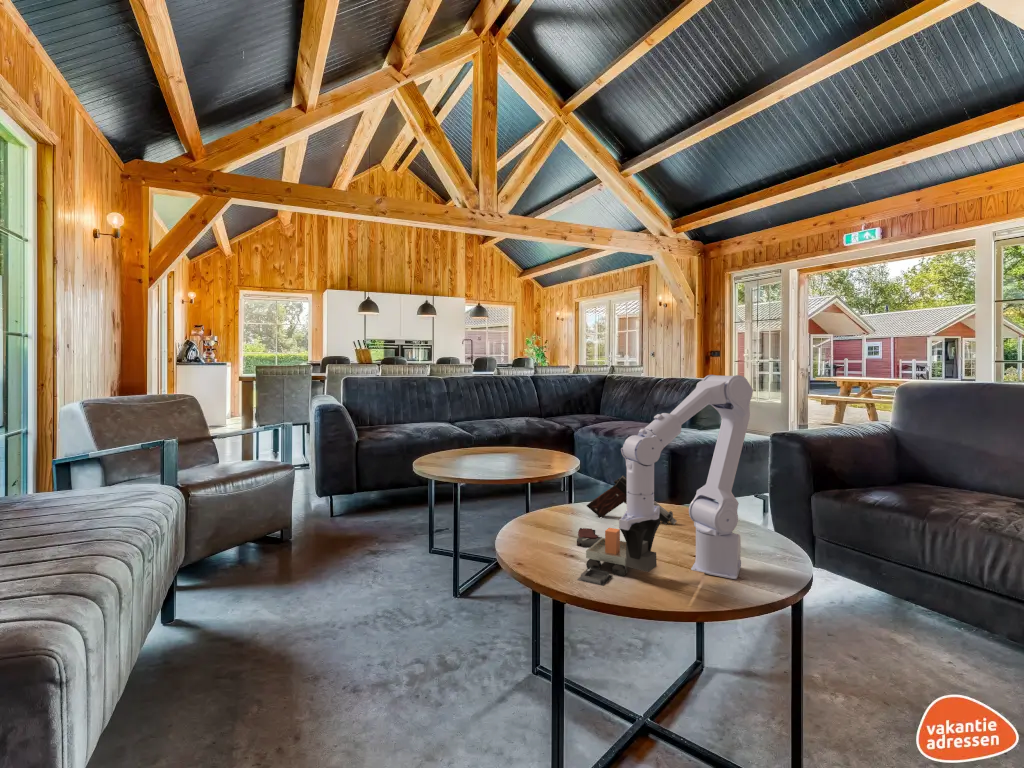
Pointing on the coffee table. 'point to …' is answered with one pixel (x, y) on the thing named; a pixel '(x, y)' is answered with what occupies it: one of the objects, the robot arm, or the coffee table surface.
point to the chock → (642, 559)
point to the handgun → (621, 501)
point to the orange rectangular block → (612, 540)
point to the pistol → (587, 537)
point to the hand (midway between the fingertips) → (640, 555)
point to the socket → (595, 576)
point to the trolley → (607, 557)
